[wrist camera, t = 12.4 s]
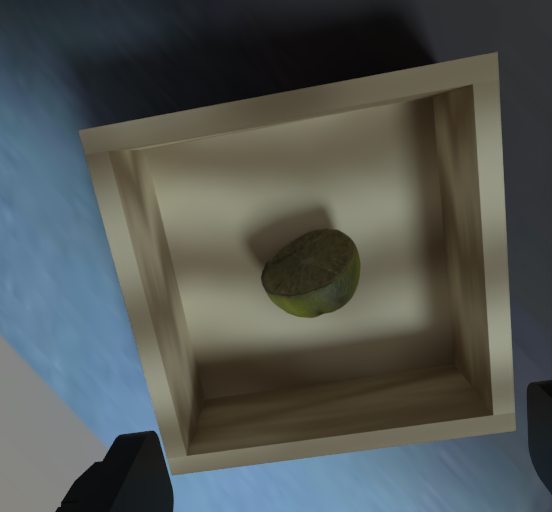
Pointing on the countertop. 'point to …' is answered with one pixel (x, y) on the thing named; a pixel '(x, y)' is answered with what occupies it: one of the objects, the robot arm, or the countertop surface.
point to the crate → (294, 223)
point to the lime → (313, 273)
